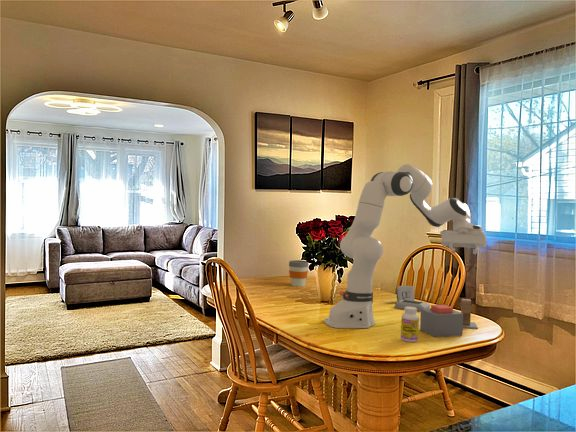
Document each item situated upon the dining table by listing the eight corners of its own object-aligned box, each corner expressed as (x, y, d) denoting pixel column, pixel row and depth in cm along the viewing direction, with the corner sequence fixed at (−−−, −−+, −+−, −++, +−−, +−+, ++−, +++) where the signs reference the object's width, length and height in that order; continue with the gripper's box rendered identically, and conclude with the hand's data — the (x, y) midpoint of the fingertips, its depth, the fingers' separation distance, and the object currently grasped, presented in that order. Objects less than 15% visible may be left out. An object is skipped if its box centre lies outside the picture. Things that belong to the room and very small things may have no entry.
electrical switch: (399, 304, 251) (398, 286, 252) (394, 302, 256) (394, 285, 257) (414, 303, 254) (414, 286, 254) (410, 302, 259) (410, 285, 259)
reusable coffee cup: (287, 283, 306) (287, 260, 305) (306, 283, 307) (306, 260, 307) (289, 286, 293) (290, 262, 293) (309, 286, 295) (309, 263, 294)
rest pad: (477, 328, 204) (477, 327, 204) (455, 327, 207) (455, 325, 207) (474, 323, 213) (474, 322, 213) (453, 322, 215) (453, 320, 215)
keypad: (424, 305, 233) (395, 301, 242) (424, 313, 234) (394, 308, 242) (429, 302, 241) (401, 298, 250) (429, 309, 242) (401, 305, 250)
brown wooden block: (470, 325, 208) (471, 300, 207) (461, 324, 208) (462, 300, 208) (469, 323, 211) (470, 299, 211) (460, 322, 212) (461, 298, 212)
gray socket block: (434, 337, 190) (435, 315, 190) (420, 329, 201) (420, 308, 200) (462, 335, 194) (463, 313, 193) (446, 328, 204) (447, 307, 204)
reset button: (439, 320, 193) (439, 308, 193) (430, 316, 199) (431, 305, 199) (452, 319, 195) (452, 307, 195) (443, 316, 201) (443, 304, 201)
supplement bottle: (399, 341, 183) (400, 308, 183) (401, 336, 189) (402, 305, 189) (417, 343, 181) (418, 310, 180) (418, 338, 187) (420, 306, 187)
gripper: (440, 225, 230) (441, 247, 221) (485, 227, 225) (488, 249, 216) (439, 234, 234) (440, 255, 225) (483, 235, 229) (486, 257, 220)
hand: (464, 252), depth 220 cm, fingers open, 8 cm apart
